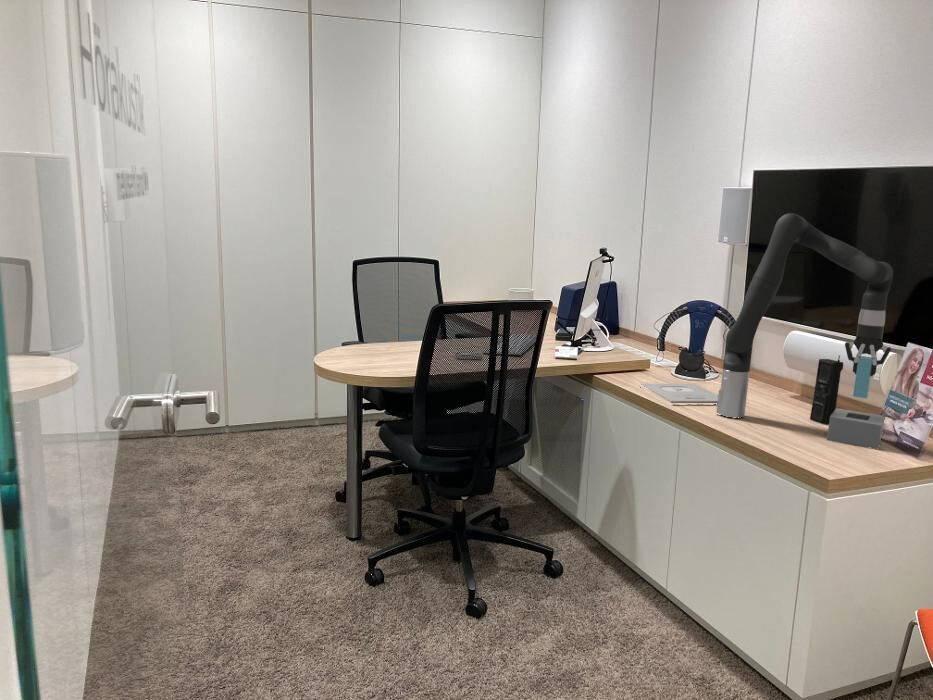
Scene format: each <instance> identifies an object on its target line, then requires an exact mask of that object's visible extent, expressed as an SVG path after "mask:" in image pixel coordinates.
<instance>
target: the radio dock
mask: <svg viewBox="0 0 933 700" xmlns="http://www.w3.org/2000/svg"><path fill="white" fill-rule="evenodd" d="M883 416H884V415H883V414H882V415H880V414H874V413H869V412H861V411H857V410H856V411H855V410H852V409H843V408H837V407H836V409H835V411H834V412H833V413H832V415H831V416H830V420H829V424H828V427H827V436H826V441H830V442H836V443H842V444H847V445H852V446H856V445H857V447H862V446H863V447H862V448H867V447H871V448H870V449H873V448H878V449H879V448H880V446H881V443H880V442H882V441H881V438H882V439H883V437H882V432H883V433H884V430H883V425H884V426H885V423H884V420H885V421H886V417H883ZM879 445H880V446H879Z"/></svg>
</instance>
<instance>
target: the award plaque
mask: <svg viewBox="0 0 933 700" xmlns="http://www.w3.org/2000/svg"><path fill="white" fill-rule="evenodd" d="M640 384H641V385H643V386H644V387H646V388H648V389H649V390H651V391H652V392H654V393H656V394H657V395H659V396H661V397H662V398H664V399H666V400H667V401H669V402H671V403H718V393H717V394H716V393H715V392H712V391H710V390H708V389H706V388H703V387H702V386H700V385H697V384H695V383H656V382H655V383H652V382H651V383H648V382H647V383H642V382H640V383H639V385H640ZM663 387H664V388H663ZM665 387H666V388H667V387H668V388H667V389H666V388H665Z"/></svg>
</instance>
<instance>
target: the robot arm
mask: <svg viewBox="0 0 933 700" xmlns="http://www.w3.org/2000/svg"><path fill="white" fill-rule="evenodd" d="M794 243H795V244H799V245H802V246H805V247H807V248H810V249H812V250H814V251H816V252H817V253H819V254H821V256H823V257H825V258H826V259H828V260H829V261H831V262H832V263H835V264H836V265H838V266H839V267H842V268H844V269H846V270H848V271H850V272H852V273H853V274H855V275H856V276H857V277H859V278H860V279H862V280H863V281H866V282H867V288H866V291H864V292H863V296H862V300H861V307H860V312H859V315H858V322H857V329H856V336H855V339H854V340H853V341H846V342H845V343H844V348H845V350H846V351H845V352H846V355H847V356H846V357H847V359H848V361H850V362H852V363H853V364H852V365H853V366H852V372H853V373H854V375H856V372H857V365H858V358H859V357H861V356H863V355H870V357H872V359H873V360H872V363H873V364H872V367H871V374H870V376H871V378H872V377H874V376H875V375H876V373H877V369H878V368H877V367H878V366H879V365H884V363H885V361H886V359H887V358H888V355H889V354H890V353H891V350H892V347H891V346H887V345H885V344H884V342H883V335H884V328H885V324H886V310H887V303H888V295H889V292H890V290H891V285H892V283H893V277H894V270H893V267H892V265H891V264H889V262H885V261H877V260H875V259H873V258H872V257H870V256H868V255H866V254H865V253H864V252H863V251H862V250H860V249H858V248H856V247H854V246H852V245H850V244H848V243H846V242H845V241H842V240H839V239H837V238H834V237H832V236H830V235H828V234H825V233H824V232H822V231H821V230H819V229H818V228H817V227H815V226H814V225H812V224H811V223H810V222H808V220H806V219H805V218H804V217H803V216H800V215H798V214H796V213H793V212H791V213H789V212H788V213H785V214H783V215H782V216H781V217H779V219H778V220H776V223H775V226H774V228H773V231H772V234H771V237H770V241H769V244H768V245H767V248H766V250H765V253H764V255H763V257H762V258H761V261H760V263H759V265H758V267H757V269H756V270H755V272H754V275H753V277H752V279H751V281H750V284H749V286H748V289H747V291H746V293H745V297H744V300H743V303H742V307H741V310H740V312H739V315H738V317H737V318H736V320H735V321H734V323H733V325H732V327H731V328H730V329H729V330H727V333H726V336H725V347H724V355H723V361H722V363H723V365H722V373H721V382H720V388H719V389H718V393H717V395H718V403H717V405H716V406H717V407H716V413H719V414H721V415H724V416H728V417H736V418H738V417H739V418H740V419H742V418H741V417H744V418H745V414H746V407H747V406H746V405H747V396H748V388H749V379H750V371H751V365H752V364H751V362H752V354H753V353H752V352H753V344H754V339H755V336H756V334H757V330H758V327H759V324H760V323H761V321H762V318H763V317H764V315H765V314H766V313H767V310H768V309H769V307H770V305H772V304H771V303H772V302H773V300H774V299H775V296H777V295H776V294H777V293H778V290H779V288H780V286H781V284H782V282H783V278H784V273H785V267H786V263H787V262H786V261H787V258H788V255H789V253H790V251H791V249H792V247H793V245H794ZM853 346H855V348H856V350H857V353H856V355H855V356H853V351H852V349H853ZM881 349H882V353H883V354H882V356H881V357H880V358H881V359H878V357H877V356H878V355H877V353H878V352H879V351H880V350H881ZM716 413H715V414H716Z"/></svg>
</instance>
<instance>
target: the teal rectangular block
mask: <svg viewBox="0 0 933 700" xmlns="http://www.w3.org/2000/svg"><path fill="white" fill-rule="evenodd" d="M872 360H873V359H872V357H871V356H865V355H861V357H859V358H858V365H857V372H856V374H855V381H854V388H853V393H852V397H856V398H861V399H868V397H869V394H870V393H869V392H870V387H871V379H872V376H870V374H871V367H872V364H873V363H872Z"/></svg>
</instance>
